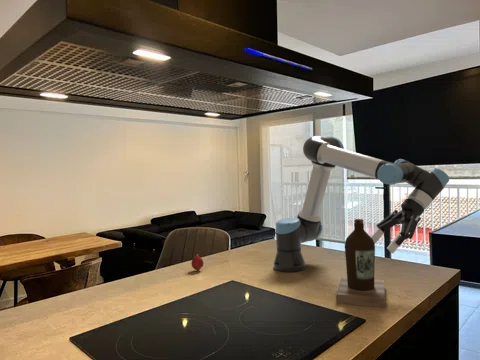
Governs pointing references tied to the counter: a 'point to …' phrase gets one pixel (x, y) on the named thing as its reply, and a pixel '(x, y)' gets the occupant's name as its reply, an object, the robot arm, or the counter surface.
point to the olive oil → (360, 258)
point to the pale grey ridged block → (361, 294)
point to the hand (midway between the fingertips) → (379, 246)
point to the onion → (197, 262)
